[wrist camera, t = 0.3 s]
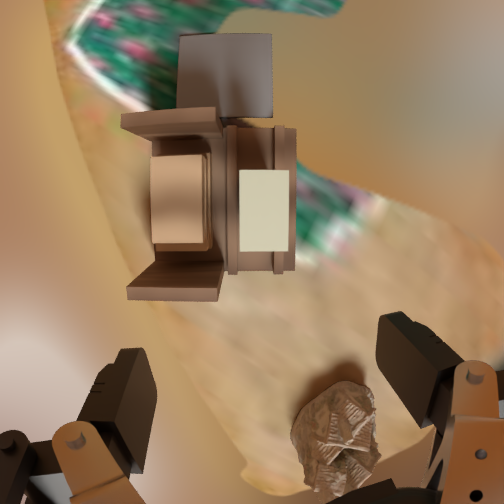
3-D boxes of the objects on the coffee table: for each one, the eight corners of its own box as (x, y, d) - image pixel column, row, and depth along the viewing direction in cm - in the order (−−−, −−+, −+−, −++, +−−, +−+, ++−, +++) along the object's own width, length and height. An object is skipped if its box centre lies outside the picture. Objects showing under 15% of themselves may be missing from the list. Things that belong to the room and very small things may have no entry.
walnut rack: (155, 133, 35) (121, 114, 24) (294, 130, 35) (315, 108, 24) (159, 267, 38) (127, 299, 27) (292, 267, 39) (311, 300, 27)
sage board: (241, 176, 35) (239, 169, 19) (269, 176, 35) (289, 170, 19) (241, 222, 36) (239, 251, 20) (268, 222, 36) (288, 251, 20)
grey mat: (180, 38, 33) (180, 36, 32) (271, 35, 33) (271, 33, 32) (176, 119, 35) (175, 118, 34) (272, 117, 35) (272, 116, 34)
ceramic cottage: (342, 468, 46) (365, 528, 31) (269, 436, 45) (278, 506, 30) (404, 407, 45) (445, 460, 30) (336, 365, 43) (371, 425, 28)
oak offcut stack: (162, 156, 34) (145, 151, 28) (212, 154, 34) (205, 147, 28) (164, 245, 36) (148, 258, 30) (213, 244, 36) (206, 257, 30)
